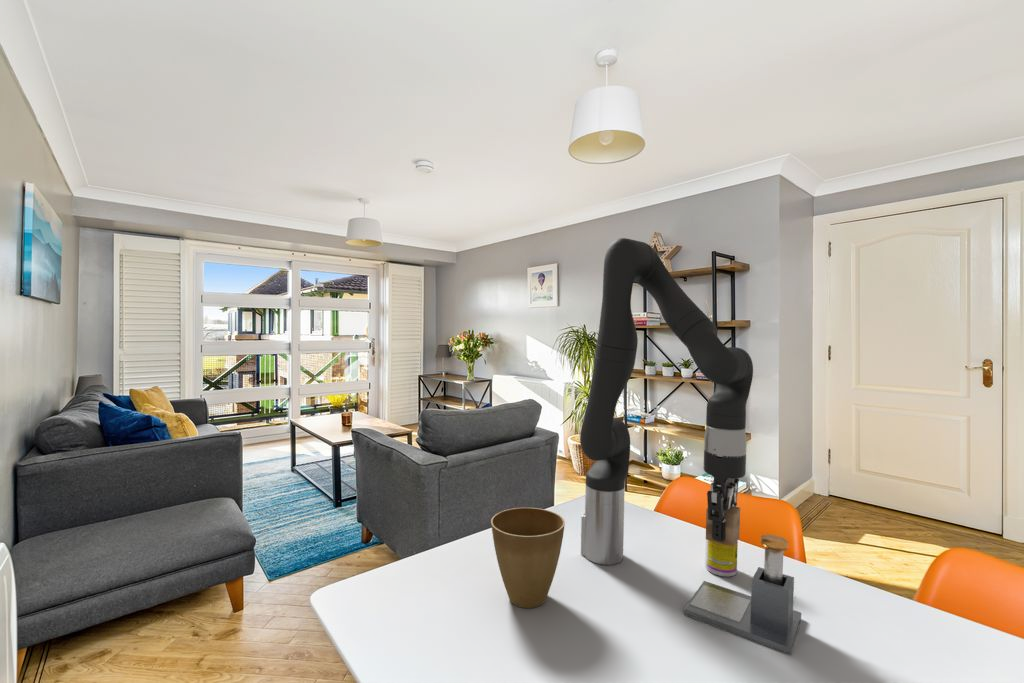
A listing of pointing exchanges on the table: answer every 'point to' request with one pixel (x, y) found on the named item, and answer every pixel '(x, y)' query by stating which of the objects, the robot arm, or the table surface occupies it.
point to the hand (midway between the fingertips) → (722, 535)
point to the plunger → (773, 558)
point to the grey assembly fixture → (750, 611)
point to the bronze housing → (726, 526)
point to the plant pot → (527, 552)
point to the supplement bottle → (721, 558)
